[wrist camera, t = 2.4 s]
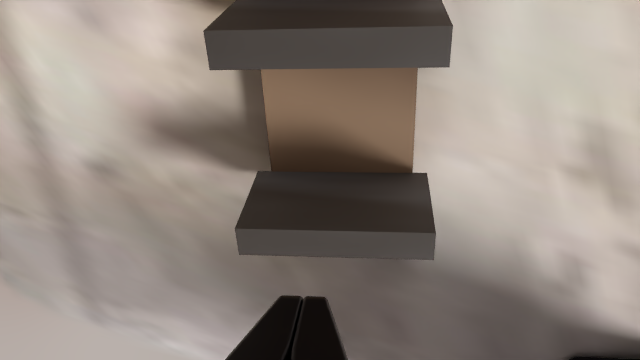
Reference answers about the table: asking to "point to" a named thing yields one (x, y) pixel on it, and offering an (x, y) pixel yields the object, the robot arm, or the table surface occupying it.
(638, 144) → the table surface
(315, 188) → the wooden frame
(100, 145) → the table surface
